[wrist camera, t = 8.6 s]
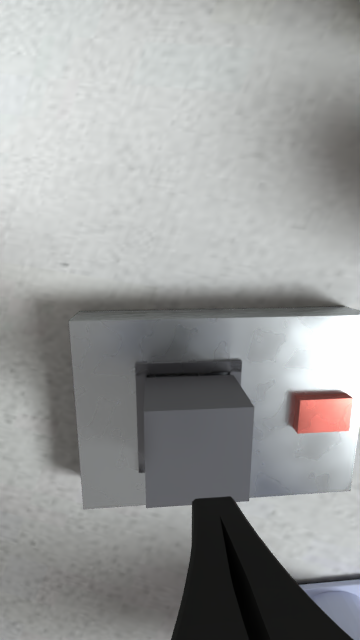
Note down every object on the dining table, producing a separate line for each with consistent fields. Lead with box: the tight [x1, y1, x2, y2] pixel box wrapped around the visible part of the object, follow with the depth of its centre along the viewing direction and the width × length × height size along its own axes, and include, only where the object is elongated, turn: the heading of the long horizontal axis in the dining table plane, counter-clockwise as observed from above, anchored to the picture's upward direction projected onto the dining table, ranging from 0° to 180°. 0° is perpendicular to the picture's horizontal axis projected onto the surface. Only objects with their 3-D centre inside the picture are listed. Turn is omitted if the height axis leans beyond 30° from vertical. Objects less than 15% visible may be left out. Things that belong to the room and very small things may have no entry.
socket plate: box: [69, 307, 360, 509], centre depth 19 cm, size 11×16×3 cm
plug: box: [144, 375, 254, 508], centre depth 17 cm, size 5×5×6 cm
